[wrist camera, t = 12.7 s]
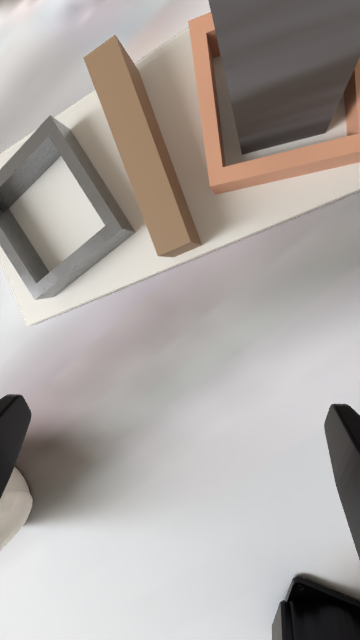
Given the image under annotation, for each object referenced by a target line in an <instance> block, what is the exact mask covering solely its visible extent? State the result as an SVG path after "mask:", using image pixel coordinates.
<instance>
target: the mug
mask: <svg viewBox="0 0 360 640" xmlns="http://www.w3.org/2000/svg"><path fill="white" fill-rule="evenodd" d="M32 503H33V500H32V496H31V495H30V492H29V488H28V485H27V483H26V481H25V479H24V477H23V476H22V474H21V473H20V471H19V470H18V469H17V468H16V467H14V469H13V472H12V474H11V477H10V479H9V481H8V483H7V485H6V488H5V490H4V492H3V494H2V497H1V499H0V551H1V550H2V549H3V548H4V547H5V546H6V545H7V543H8V542H9V541H10V540H11V539H12V538H13V537H14V536H15V535H16V534H17V533H18V531H19V530H20V529H21V528H22V526H23V525H24V523H25V522H26V521H27V518H28V516H29V513H30V511H31V508H32Z"/></svg>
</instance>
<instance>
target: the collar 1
mask: <svg viewBox="0 0 360 640" xmlns="http://www.w3.org/2000/svg"><path fill="white" fill-rule="evenodd" d="M60 156H61V157H62V158H63V160H64V161H65V163H66V165H67V166H68V168H69V169H70V171H71V172H72V174H73V176H74V177H75V179H76V180H77V182H78V184H79V185H80V187H81V188H82V190H83V191H84V193H85V195H86V196H87V198H88V199H89V201H90V202H91V204H92V206H93V207H94V209H95V210H96V212H97V213H98V215H99V217H100V218H101V220H102V221H103V223H104V224H105V226H104V227H103V228H102V229H101V230H100V231H98V232H97V233H96V234H95V235H94V236H92V237H91V238H90V239H89V240H88V241H86V242H85V243H84V244H83V245H82V246H80V247H79V248H78V249H77V250H76V251H75V252H73V253H72V254H71V255H70V256H69V257H67V258H66V259H65V260H64V261H63V262H61V263H60V264H59V265H58V266H57V267H55V268H54V269H53V270H52V271H51V272H49V271H48V269H47V268H46V266H45V264H44V263H43V261H42V260H41V258H40V257H39V255H38V253H37V252H36V250H35V249H34V247H33V246H32V244H31V242H30V241H29V239H28V238H27V236H26V234H25V233H24V231H23V230H22V228H21V227H20V225H19V223H18V222H17V220H16V219H15V217H14V216H13V214H12V212H11V211H10V209H9V208H10V207H11V206H12V205H13V204H14V203H15V202H16V201H17V200H18V199H19V198H20V197H21V196H22V195H23V194H24V193H25V192H26V191H27V190H28V189H29V188H30V187H31V186H32V185H33V184H34V183H35V182H36V181H37V180H38V179H39V178H40V177H41V176H42V175H43V174H44V172H45V171H46V170H47V169H48V168H49V167H50V166H51V165H52V164H53V163H54V162H55V161H56V160H57V159H58V158H59V157H60ZM134 233H136V232H135V230H134V229H133V227H132V226H131V224H130V222H129V221H128V219H127V218H126V216H125V215H124V213H123V211H122V210H121V208H120V207H119V205H118V203H117V202H116V200H115V199H114V197H113V196H112V194H111V192H110V191H109V189H108V188H107V186H106V185H105V183H104V181H103V180H102V178H101V177H100V175H99V174H98V172H97V170H96V169H95V167H94V166H93V164H92V163H91V161H90V159H89V158H88V156H87V155H86V153H85V151H84V150H83V148H82V147H81V145H80V144H79V142H78V140H77V139H76V137H75V136H74V134H73V133H72V131H71V129H69V128H68V127H66V126H65V125H63V124H62V123H60V122H59V121H58V120H56V119H55V118H53V117H52V116H49V117H48V118H47V119H46V120H45V121H44V122H43V124H42V125H41V126H40V127H39V128H38V129H37V130H36V131H35V132H34V133H33V134H32V135H31V137H30V138H29V139H28V140H27V141H26V142H25V143H24V144H23V145H22V146H21V147H20V148H19V150H18V151H17V152H16V153H15V154H14V155H13V156H12V157H11V158H10V159H9V160H8V161H7V163H6V164H5V165H4V166H3V167H2V168H1V169H0V246H1V248H2V249H3V251H4V252H5V254H6V255H7V257H8V259H9V260H10V262H11V263H12V265H13V266H14V268H15V270H16V271H17V273H18V274H19V276H20V277H21V279H22V281H23V282H24V284H25V285H26V287H27V288H28V290H29V292H30V293H31V295H32V296H33V298H34V300H38V299H45V298H52V297H55V296H56V295H58V294H59V293H60V292H61V291H63V290H64V289H65V288H66V287H68V286H69V285H70V284H71V283H73V282H74V281H75V280H76V279H78V278H79V277H80V276H82V275H83V274H84V273H85V272H87V271H88V270H89V269H90V268H92V267H93V266H94V265H95V264H97V263H98V262H99V261H100V260H102V259H103V258H104V257H105V256H107V255H108V254H109V253H110V252H112V251H113V250H114V249H115V248H117V247H118V246H119V245H121V244H122V243H123V242H124V241H126V240H127V239H128V238H129V237H131V236H132V235H133V234H134Z"/></svg>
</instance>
